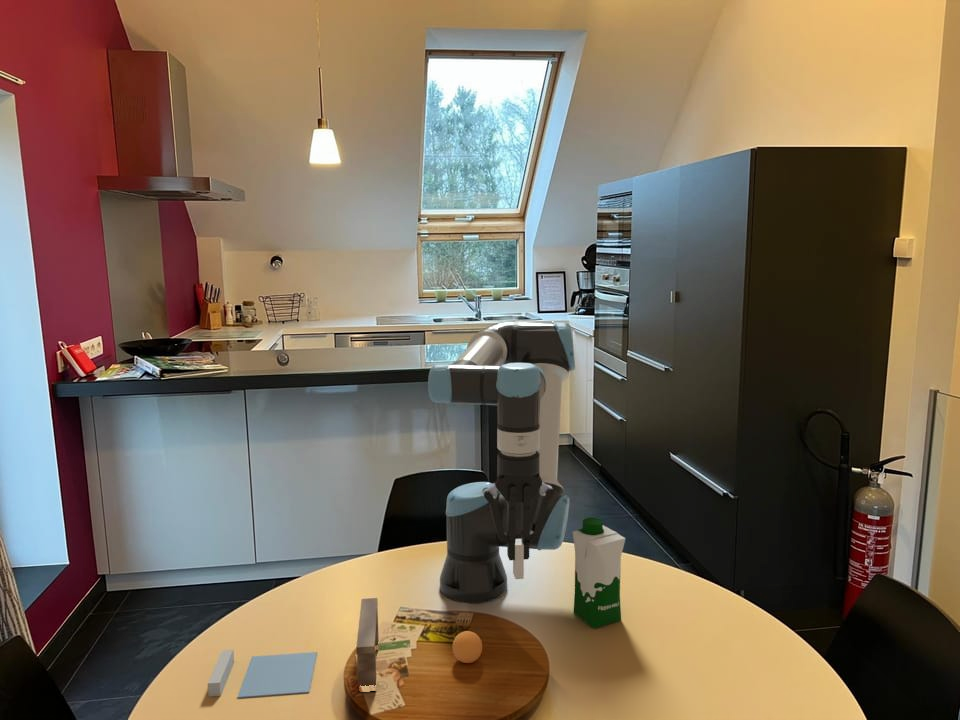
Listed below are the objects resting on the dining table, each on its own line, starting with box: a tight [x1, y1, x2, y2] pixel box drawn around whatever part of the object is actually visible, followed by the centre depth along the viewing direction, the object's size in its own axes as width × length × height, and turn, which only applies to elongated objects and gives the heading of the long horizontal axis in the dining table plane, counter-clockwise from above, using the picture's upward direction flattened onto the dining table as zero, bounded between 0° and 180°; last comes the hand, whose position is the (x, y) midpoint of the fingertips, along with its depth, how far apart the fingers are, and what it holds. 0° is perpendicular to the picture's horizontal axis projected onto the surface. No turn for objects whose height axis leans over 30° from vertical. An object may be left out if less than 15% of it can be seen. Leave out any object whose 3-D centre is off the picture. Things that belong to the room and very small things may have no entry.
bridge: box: [355, 597, 380, 686], centre depth 128 cm, size 3×16×9 cm, turn 6°
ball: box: [452, 630, 483, 664], centre depth 130 cm, size 6×6×6 cm
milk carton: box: [572, 517, 626, 629], centre depth 143 cm, size 9×9×20 cm
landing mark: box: [237, 651, 318, 699], centre depth 127 cm, size 12×12×1 cm
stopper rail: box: [207, 648, 235, 698], centre depth 125 cm, size 10×2×2 cm, turn 6°
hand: (518, 575), depth 129 cm, fingers closed
